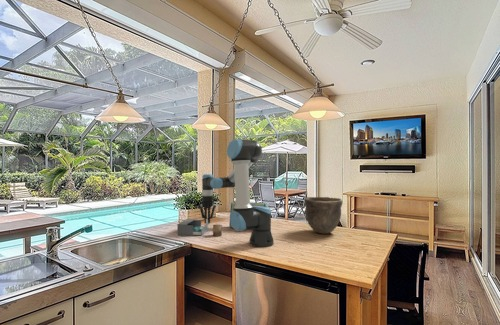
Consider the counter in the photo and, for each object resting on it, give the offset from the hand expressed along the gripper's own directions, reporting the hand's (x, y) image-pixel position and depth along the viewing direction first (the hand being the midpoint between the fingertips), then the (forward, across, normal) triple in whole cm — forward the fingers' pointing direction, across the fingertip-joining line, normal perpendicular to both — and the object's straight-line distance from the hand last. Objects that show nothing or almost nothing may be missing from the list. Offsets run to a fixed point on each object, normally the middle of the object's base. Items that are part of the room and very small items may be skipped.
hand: (207, 227), depth 199 cm
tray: (+3, +7, +2) cm, 8 cm away
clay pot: (+3, -84, -9) cm, 84 cm away
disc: (+2, +7, +2) cm, 7 cm away
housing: (+3, +12, +2) cm, 12 cm away
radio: (+3, -28, -15) cm, 32 cm away
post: (+3, -10, +8) cm, 13 cm away
